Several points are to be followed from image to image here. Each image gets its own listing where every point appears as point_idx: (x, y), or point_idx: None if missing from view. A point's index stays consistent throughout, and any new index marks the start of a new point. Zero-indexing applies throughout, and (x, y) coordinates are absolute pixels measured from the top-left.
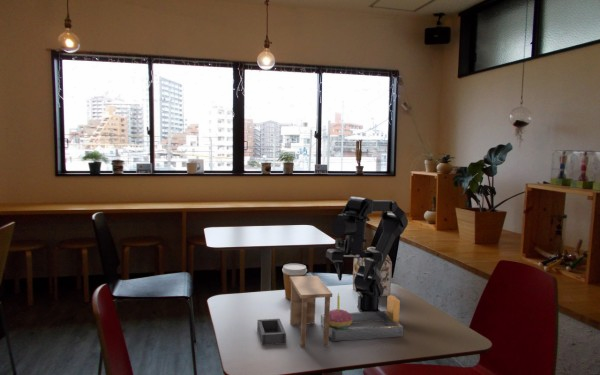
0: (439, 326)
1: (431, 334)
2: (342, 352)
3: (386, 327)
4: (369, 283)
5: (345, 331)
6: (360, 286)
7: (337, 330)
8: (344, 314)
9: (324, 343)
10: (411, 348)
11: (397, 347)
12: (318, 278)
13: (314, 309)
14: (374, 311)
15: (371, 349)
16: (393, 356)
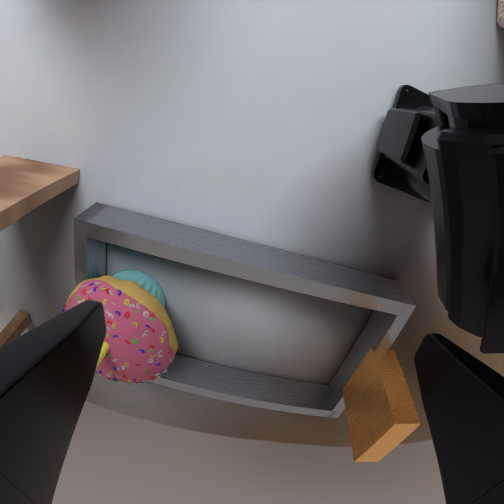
0: None
1: (416, 394)
2: (112, 380)
3: (281, 409)
4: (456, 318)
5: None
6: (432, 201)
7: None
8: (121, 379)
9: None
10: (299, 427)
11: (269, 417)
12: None
13: (38, 204)
14: (364, 294)
15: (193, 402)
16: (227, 432)
